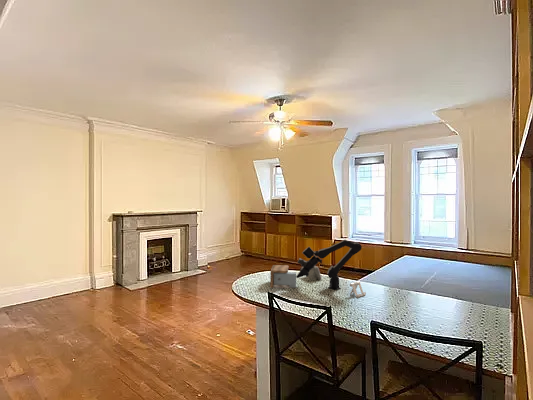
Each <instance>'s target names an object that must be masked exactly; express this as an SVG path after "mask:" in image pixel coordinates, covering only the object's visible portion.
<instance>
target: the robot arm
mask: <svg viewBox="0 0 533 400" xmlns="http://www.w3.org/2000/svg"><path fill="white" fill-rule="evenodd" d="M344 247H348V248H349V250H348V251H347V252H346V253H345V254H344V255H343V256H342V258H341V259H340V260H339V261H338V262H337V263H336V264H335V265H334V266H333V265H331V266H330V267H329V268H327V269H328V270H327V276H328V278H329V287H328V289H331V290H334V291H337V290H341V287H340V277H339V275H338V274H339V272H340V270H341V269H342V268H343V267H344V266H345V265H346V264H347V262H349V260H351V258H352V257H353V256H354V255H356V254H357V253H359V252H360V251H361V250H362V245H361V244H360V243H359V242H358V241H356V242H355V241H354V242H353V241H350V240H348V239H343V240H341V241H339V242H337V243H335V244H333V245H331V246H329V247H325V248H320V249H319V250H313V249H312V248H311V247H310V246H308V247H306V248H305V249H304V250H303V251H302V252H301V254H303V255H304V256H305V257H306V258H307V259H309V260H305V259H302V258H300V257H299V259H298V260H297V264H298V265H301V267H300V269H299V272H298V274H296V279H298V278H302V277H306V278H307V276H308V275H309V272H310V270H311V269H312V268H314V266H317V264H319V263H320V264H323V259H325V258H326V257H328V256H329V255H330V254H331V253H334V252H336V251H338V250H339V249H341V248H344Z"/></svg>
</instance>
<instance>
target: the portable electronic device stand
mask: <svg viewBox="0 0 533 400" xmlns="http://www.w3.org/2000/svg"><path fill="white" fill-rule="evenodd" d="M349 286H350V287H351V291H350V293H349V295H352V294H354V295H355V297H356V298H360V297H363V296H364V297H365V296H366V294H367V292H366V291H365V292H364V290H363V288H362V285H361V281H359V280H358V281H354V282H351V283H349ZM358 287H359V290H360V293H358V292H357V291H358V290H357V288H358Z"/></svg>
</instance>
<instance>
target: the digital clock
mask: <svg viewBox="0 0 533 400" xmlns="http://www.w3.org/2000/svg"><path fill="white" fill-rule="evenodd" d="M306 278H307V279H309V280H311V281H315V280H318V281H321V280H322V275H321V272H320V268H319V267H318V266H317V265H315V266H314V268H312V269H311V270H310V272H309V275H308V276H307V277H306Z"/></svg>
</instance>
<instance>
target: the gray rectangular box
mask: <svg viewBox="0 0 533 400" xmlns="http://www.w3.org/2000/svg"><path fill="white" fill-rule="evenodd" d="M296 276H297V272H292V271H288V272H287V273H275V272H274V285H289V288H297V277H296Z"/></svg>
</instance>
